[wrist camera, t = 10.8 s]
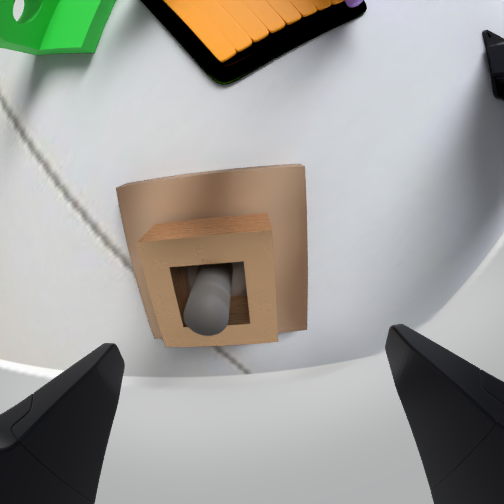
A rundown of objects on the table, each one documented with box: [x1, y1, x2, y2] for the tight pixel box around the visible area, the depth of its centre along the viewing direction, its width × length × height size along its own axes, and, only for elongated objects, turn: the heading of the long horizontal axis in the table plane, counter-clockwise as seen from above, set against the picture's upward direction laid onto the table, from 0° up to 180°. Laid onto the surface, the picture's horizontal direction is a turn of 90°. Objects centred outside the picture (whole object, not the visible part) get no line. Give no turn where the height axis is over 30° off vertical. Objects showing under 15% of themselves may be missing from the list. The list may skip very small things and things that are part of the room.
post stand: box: [116, 164, 308, 339], centre depth 16 cm, size 11×11×7 cm
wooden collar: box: [137, 213, 278, 347], centre depth 16 cm, size 6×6×3 cm
